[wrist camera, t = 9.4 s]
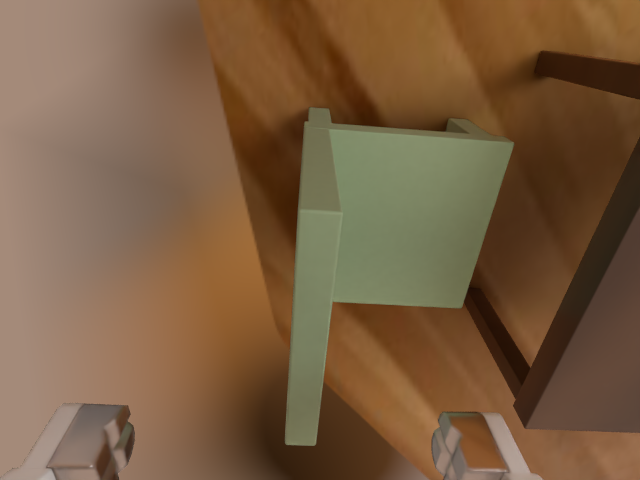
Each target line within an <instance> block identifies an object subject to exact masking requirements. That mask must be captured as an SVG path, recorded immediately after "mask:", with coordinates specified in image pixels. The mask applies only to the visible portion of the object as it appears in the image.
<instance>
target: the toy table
mask: <svg viewBox="0 0 640 480" xmlns="http://www.w3.org/2000/svg"><path fill="white" fill-rule="evenodd" d="M535 74H539V75H543V76H547V77H551V78H555V79H559V80H563V81H567V82H571V83H575V84H579V85H583V86H587V87H591V88H595V89H599V90H603V91H607V92H611V93H615V94H619V95H623V96H627V97H631V98H635V99H639V100H640V63H635V62H628V61H621V60H613V59H606V58H599V57H592V56H584V55H577V54H570V53H563V52H553V51H541V53H540V56H539V60H538V63H537V66H536V69H535ZM464 304H465V305H466V307H467V309H468V311H469V313H470V315H471V317H472V319H473V320H474V322H475V324H476V326H477V328H478V330H479V332H480V334H481V335H482V337H483V339H484V341H485V343H486V345H487V347H488V349H489V350H490V352H491V354H492V356H493V358H494V360H495V362H496V363H497V365H498V367H499V369H500V371H501V373H502V375H503V377H504V378H505V380H506V382H507V384H508V386H509V388H510V390H511V392H512V393H513V395H514V397H515V399H516V400H515V402H514V405H513V407H514V409H515V410H516V412H517V414H518V416H519V418H520V420H521V422H522V424H523V426H524V428H525V429H543V430H572V431H601V432H629V433H640V137H639V139H638V141H637V144H636V146H635V148H634V150H633V152H632V154H631V156H630V158H629V161H628V163H627V165H626V167H625V169H624V171H623V173H622V175H621V177H620V180H619V182H618V184H617V186H616V188H615V190H614V192H613V194H612V197H611V199H610V201H609V203H608V205H607V207H606V209H605V211H604V214H603V216H602V218H601V220H600V222H599V224H598V226H597V228H596V231H595V233H594V235H593V237H592V239H591V241H590V243H589V245H588V248H587V250H586V252H585V254H584V256H583V258H582V260H581V262H580V264H579V267H578V269H577V271H576V273H575V275H574V277H573V279H572V281H571V284H570V286H569V288H568V290H567V292H566V294H565V296H564V298H563V301H562V303H561V305H560V307H559V309H558V311H557V313H556V315H555V318H554V320H553V322H552V324H551V326H550V328H549V330H548V332H547V334H546V337H545V339H544V341H543V343H542V345H541V347H540V349H539V351H538V354H537V356H536V358H535V360H534V362H533V364H532V366H531V368H530V366H529V365H528V363H527V362H526V360H525V358H524V357H523V355H522V354H521V352H520V350H519V349H518V347H517V346H516V344H515V342H514V341H513V339H512V338H511V336H510V334H509V333H508V331H507V330H506V328H505V326H504V325H503V323H502V322H501V320H500V318H499V317H498V315H497V314H496V312H495V310H494V309H493V307H492V306H491V304H490V302H489V301H488V299H487V298H486V296H485V294H484V293H483V291H482V290H481V289H479V288H468V290H467V293H466V296H465V299H464Z"/></svg>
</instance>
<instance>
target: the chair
mask: <svg viewBox="0 0 640 480" xmlns="http://www.w3.org/2000/svg"><path fill="white" fill-rule="evenodd" d="M513 146H514V142H512V141H511V140H509V139H507V138H506V137H504V136H493V135H490V134H489V133H487V132H486V131H484V130H483V129H481V128H479V127H478V126H476V125H475V124H473V123H472V122H470V121H469V120H467V119H454V118H449V119H448V123H447V128H446V132H440V131H426V130H413V129H400V128H386V127H373V126H360V125H347V124H333V123H331V117H330V112H329V109H326V108H313V107H309V113H308V122H307V121H305V122H304V133H303V147H302V161H301V174H300V188H299V202H298V216H297V234H296V252H295V270H294V288H293V306H292V324H291V342H290V359H289V360H290V361H289V377H288V395H287V396H288V397H287V413H286V414H287V415H286V432H285V443H286V444H287V445H310V446H312V445H313V446H314V445H315V444H316V438H317V430H318V421H319V412H320V404H321V396H322V387H323V379H324V370H325V362H326V353H327V345H328V336H329V328H330V319H331V311H332V302H346V303H365V304H385V305H404V306H424V307H443V308H462V306H463V302H464V299H465V296H466V293H467V290H468V287H469V284H470V281H471V277H472V274H473V271H474V268H475V265H476V262H477V259H478V256H479V252H480V249H481V246H482V243H483V240H484V237H485V234H486V231H487V227H488V224H489V221H490V218H491V215H492V212H493V209H494V205H495V202H496V199H497V196H498V193H499V190H500V187H501V184H502V180H503V177H504V174H505V171H506V168H507V165H508V162H509V159H510V155H511V152H512V149H513Z"/></svg>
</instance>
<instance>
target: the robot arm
mask: <svg viewBox="0 0 640 480" xmlns="http://www.w3.org/2000/svg"><path fill="white" fill-rule="evenodd" d="M129 416H130V411H129V408H128V406H126V405H103V404H81V403H63V404H62V405H61V406H60V407H59V408H58V409H57V410H56V411H55V413H54V414H53V416H52V417H51V419H50V421H49V422H48V424H47V425H46V427H45V429H44V430H43V432H42V433H41V435H40V436H39V438H38V440H37V441H36V443H35V445H34V446H33V448H32V449H31V451H30V452H29V454H28V456H27V457H26V459H25V460H24V462H23V463H22V465H21V467H20V468H12V469H11V470H10V471H8V472H7V473H6V474H4V475H3V476H2V477H0V480H119V477H118V473H119V472H120V471H121V470H122V469H123V468H125V467H126V466H127V465H128V462H129V459H130V457H131V454H132V450H133V445H134V435H135V432H134V427H133V425H132V424H131V423H129V422H128V419H129ZM438 422H439V425H440V427H439V428H438V429H436V430H435V431H434V433H433V437H432V455H433V460H434V464H435V467H436V469H437V470H438V471H439V472H440V473H441V474H442V475H443V476H444V479H443V480H543V479H542V478H541V477H540V476H539V475H538V474H535V473H531V472H530V471H529V469H528V467H527V465H526V463H525V461H524V459H523V457H522V455H521V453H520V451H519V449H518V447H517V445H516V443H515V441H514V439H513V437H512V435H511V433H510V431H509V429H508V427H507V425H506V423H505V421H504V419H503V417H502V416H501V415H500V414H499V413H493V412H480V413H479V412H442V413H441V414H440V416H439V419H438Z"/></svg>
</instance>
